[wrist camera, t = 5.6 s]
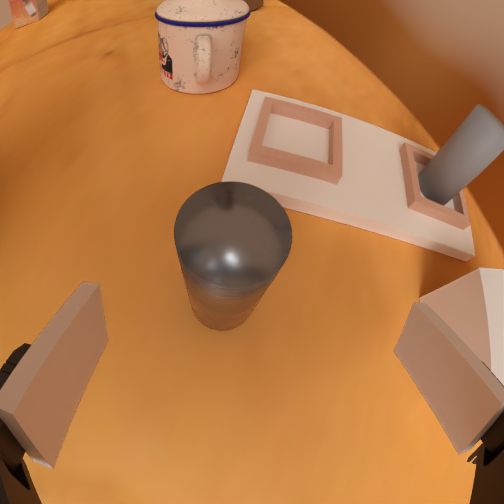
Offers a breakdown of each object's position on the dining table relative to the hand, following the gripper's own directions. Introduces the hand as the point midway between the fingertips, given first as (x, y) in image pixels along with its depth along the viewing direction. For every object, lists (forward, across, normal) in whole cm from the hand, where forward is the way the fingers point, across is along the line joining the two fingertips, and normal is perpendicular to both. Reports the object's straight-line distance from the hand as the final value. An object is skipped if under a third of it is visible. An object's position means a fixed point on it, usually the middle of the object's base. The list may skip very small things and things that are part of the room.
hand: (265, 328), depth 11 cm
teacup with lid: (+24, -6, +13) cm, 28 cm away
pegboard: (+16, +10, +6) cm, 20 cm away
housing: (+5, +18, -6) cm, 20 cm away
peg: (+7, -2, -3) cm, 8 cm away
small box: (+49, -55, +39) cm, 83 cm away
